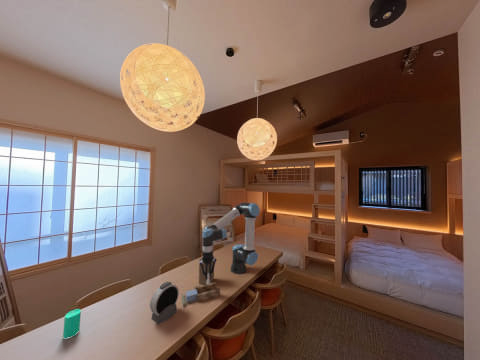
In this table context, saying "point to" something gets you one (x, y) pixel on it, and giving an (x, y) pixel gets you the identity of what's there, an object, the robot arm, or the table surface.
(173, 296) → the alarm clock
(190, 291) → the block
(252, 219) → the robot arm
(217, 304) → the table surface
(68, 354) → the table surface
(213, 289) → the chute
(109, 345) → the table surface
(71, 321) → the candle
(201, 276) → the wooden block
